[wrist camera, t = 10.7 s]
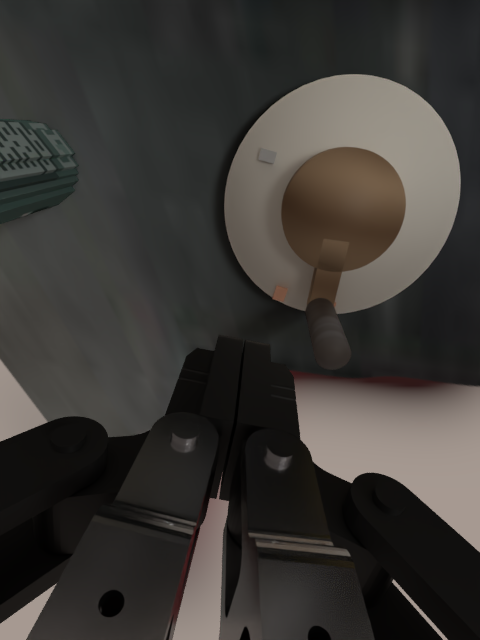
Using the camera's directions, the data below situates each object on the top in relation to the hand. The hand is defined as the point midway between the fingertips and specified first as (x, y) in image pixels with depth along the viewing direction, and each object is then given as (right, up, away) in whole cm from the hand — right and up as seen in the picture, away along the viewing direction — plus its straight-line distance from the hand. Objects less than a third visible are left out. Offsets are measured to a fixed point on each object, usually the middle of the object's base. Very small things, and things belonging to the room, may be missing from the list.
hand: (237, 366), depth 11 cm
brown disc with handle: (+8, +8, +20) cm, 22 cm away
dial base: (+8, +11, +20) cm, 24 cm away
